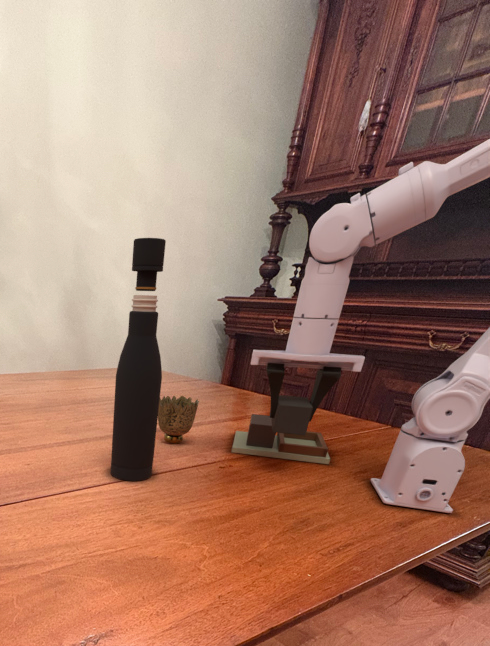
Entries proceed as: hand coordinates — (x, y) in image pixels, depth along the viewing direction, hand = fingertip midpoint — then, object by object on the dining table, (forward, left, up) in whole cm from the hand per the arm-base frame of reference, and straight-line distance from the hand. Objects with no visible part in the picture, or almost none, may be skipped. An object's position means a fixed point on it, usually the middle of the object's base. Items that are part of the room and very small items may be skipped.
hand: (289, 418), depth 65 cm
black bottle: (-11, +22, -9) cm, 26 cm away
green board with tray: (+13, 0, -8) cm, 15 cm away
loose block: (0, 0, -1) cm, 1 cm away
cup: (+9, +19, -9) cm, 22 cm away
